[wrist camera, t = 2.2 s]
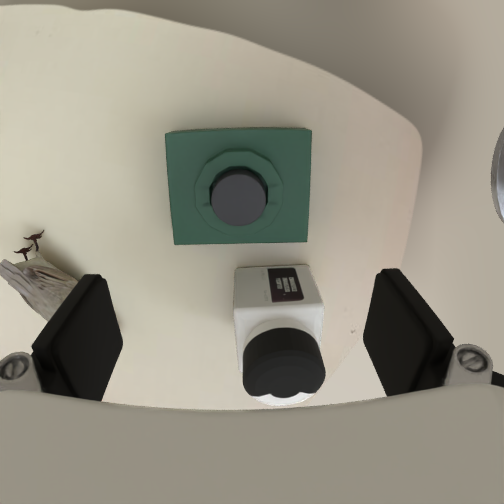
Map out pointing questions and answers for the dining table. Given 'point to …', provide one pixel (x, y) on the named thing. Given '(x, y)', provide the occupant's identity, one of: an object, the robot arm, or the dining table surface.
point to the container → (278, 333)
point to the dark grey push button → (238, 197)
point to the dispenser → (247, 158)
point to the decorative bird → (38, 281)
